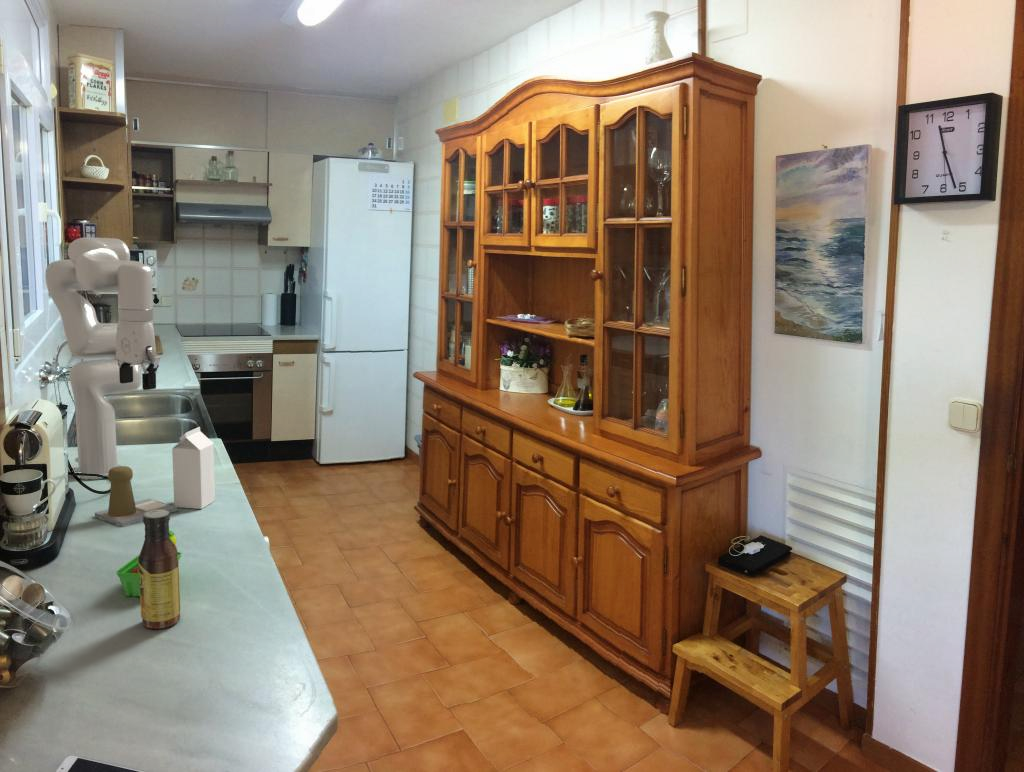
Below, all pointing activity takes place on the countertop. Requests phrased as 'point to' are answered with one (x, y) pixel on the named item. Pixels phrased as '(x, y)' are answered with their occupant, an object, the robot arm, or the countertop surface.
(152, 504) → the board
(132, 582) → the fruit basket
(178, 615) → the sauce bottle
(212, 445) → the milk carton
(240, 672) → the countertop surface
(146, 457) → the countertop surface
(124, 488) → the cork
